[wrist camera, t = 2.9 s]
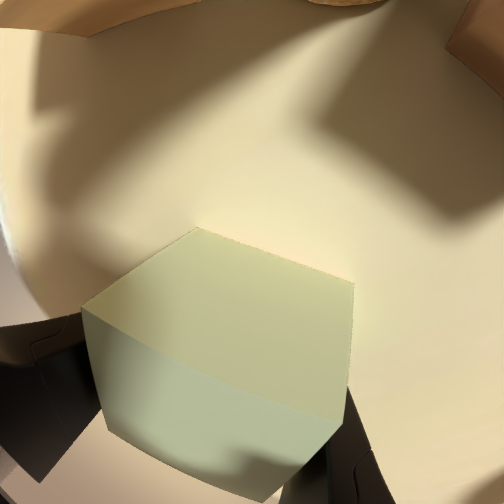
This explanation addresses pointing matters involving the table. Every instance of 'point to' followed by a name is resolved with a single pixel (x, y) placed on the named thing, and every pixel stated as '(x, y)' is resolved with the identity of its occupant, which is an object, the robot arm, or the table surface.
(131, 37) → the table surface
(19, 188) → the table surface
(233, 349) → the sage cube
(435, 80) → the table surface
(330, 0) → the spice jar
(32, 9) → the oak cube
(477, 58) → the walnut cube
